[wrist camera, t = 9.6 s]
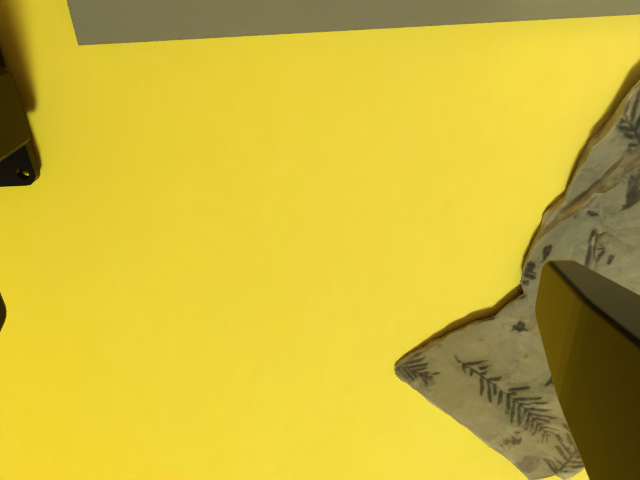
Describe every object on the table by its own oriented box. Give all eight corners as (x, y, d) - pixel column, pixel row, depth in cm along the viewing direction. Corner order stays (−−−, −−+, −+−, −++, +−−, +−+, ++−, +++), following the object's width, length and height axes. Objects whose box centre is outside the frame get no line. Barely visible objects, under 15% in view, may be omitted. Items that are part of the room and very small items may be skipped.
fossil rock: (544, 464, 31) (558, 503, 29) (345, 328, 27) (346, 362, 25) (863, 268, 24) (912, 299, 22) (666, 39, 20) (705, 52, 18)
